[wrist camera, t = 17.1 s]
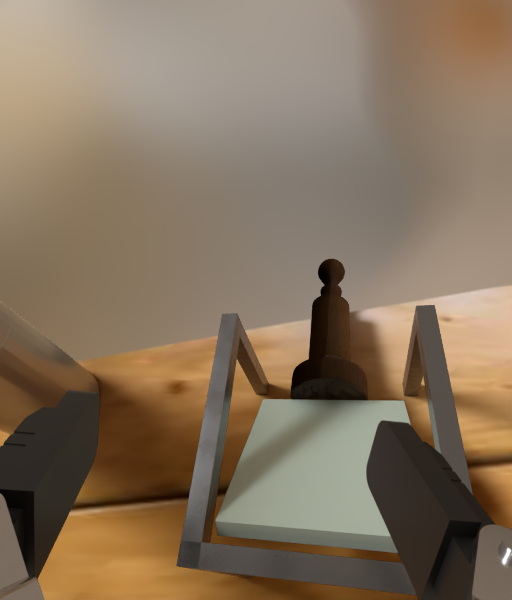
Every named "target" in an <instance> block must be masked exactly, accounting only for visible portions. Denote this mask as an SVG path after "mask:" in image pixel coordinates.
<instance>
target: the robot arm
mask: <svg viewBox="0 0 512 600" xmlns="http://www.w3.org/2000/svg"><path fill="white" fill-rule="evenodd" d="M99 403H100V397H99V385H98V382H97V380H96V378H95V377H94V376H93V375H92V374H91V373H90V372H89V371H87V370H86V369H85V368H84V367H82V366H81V365H80V364H79V363H78V362H76V361H75V360H74V359H73V358H72V357H70V356H69V355H68V354H67V353H65V352H64V351H63V350H62V349H60V348H59V347H58V346H57V345H55V344H54V343H53V342H52V341H51V340H49V339H48V338H47V337H46V336H45V335H43V334H42V333H41V332H40V331H38V330H37V329H36V328H34V327H33V326H32V325H31V324H30V323H28V322H27V321H26V320H24V319H23V318H22V317H21V316H20V315H19V314H17V313H16V312H15V311H14V310H12V309H11V308H10V307H9V306H7V305H6V304H5V303H4V302H2V301H1V300H0V430H1V431H3V432H5V433H7V434H9V435H10V436H9V438H8V439H7V440H6V441H5V442H4V445H3V446H1V447H0V600H44V597H43V594H42V591H41V588H40V585H39V582H38V580H37V579H38V577H39V575H40V573H41V571H42V569H43V566H44V564H45V562H46V560H47V558H48V556H49V554H50V552H51V550H52V548H53V546H54V544H55V541H56V539H57V537H58V535H59V533H60V531H61V529H62V527H63V525H64V523H65V521H66V519H67V516H68V514H69V512H70V510H71V508H72V506H73V504H74V502H75V500H76V498H77V496H78V494H79V491H80V489H81V487H82V485H83V483H84V481H85V479H86V477H87V475H88V473H89V471H90V469H91V466H92V464H93V461H94V458H95V455H96V450H97V444H98V426H99ZM366 478H367V483H368V487H369V489H370V491H371V494H372V496H373V498H374V500H375V502H376V505H377V507H378V509H379V511H380V514H381V516H382V518H383V520H384V523H385V525H386V527H387V529H388V531H389V534H390V536H391V538H392V540H393V543H394V545H395V547H396V549H397V551H398V554H399V556H400V558H401V560H402V563H403V565H404V567H405V569H406V572H407V574H408V576H409V578H410V580H411V583H412V585H413V587H414V589H415V592H416V594H417V596H418V598H419V600H512V529H510V528H507V527H504V526H500V525H495V523H494V522H493V521H492V519H491V518H490V517H489V516H488V514H487V513H486V512H485V510H484V509H483V508H482V506H481V505H480V504H479V503H478V501H477V500H476V499H475V497H474V496H473V495H472V493H471V492H470V491H469V489H468V488H467V487H466V486H465V484H464V483H462V482H461V481H462V480H461V479H460V478H459V476H458V475H457V474H456V473H455V471H453V470H452V467H451V466H450V465H449V463H448V462H447V461H446V459H445V458H444V457H443V456H442V454H440V453H439V452H438V451H437V450H435V449H434V448H433V447H432V446H430V445H429V444H428V443H426V442H423V441H422V440H421V439H420V437H419V436H418V435H417V433H416V432H415V430H414V429H413V428H412V426H411V425H410V424H409V423H405V422H395V421H385V420H382V421H381V422H380V423H379V424H378V427H377V430H376V433H375V437H374V441H373V444H372V448H371V451H370V455H369V458H368V462H367V467H366Z"/></svg>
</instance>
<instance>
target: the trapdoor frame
mask: <svg viewBox="0 0 512 600" xmlns="http://www.w3.org/2000/svg"><path fill="white" fill-rule="evenodd" d="M236 360H238V361H239V363H240V365H241V367H242V369H243V371H244V373H245V374H246V376H247V378H248V380H249V382H250V384H251V386H252V387H253V389H254V391H255V393H256V394H268V385H269V383H268V381H267V378H266V376H265V374H264V372H263V370H262V367H261V365H260V363H259V361H258V359H257V356H256V354H255V352H254V350H253V348H252V345H251V343H250V341H249V339H248V337H247V334H246V332H245V330H244V328H243V326H242V324H241V321H240V319H239V317H238V315H237V313H236V314H222V319H221V324H220V329H219V335H218V340H217V346H216V351H215V357H214V362H213V368H212V373H211V379H210V384H209V390H208V395H207V401H206V406H205V412H204V417H203V423H202V428H201V434H200V439H199V445H198V450H197V456H196V461H195V467H194V472H193V478H192V483H191V489H190V494H189V500H188V505H187V511H186V516H185V522H184V527H183V533H182V538H181V544H180V549H179V555H178V560H177V566H178V567H184V568H191V569H197V570H203V571H209V572H215V573H221V574H228V575H234V576H241V577H249V578H252V576H259V577H267V578H275V579H284V580H292V581H300V582H309V583H317V584H325V585H334V586H342V587H350V588H359V589H367V590H375V591H384V592H392V593H400V594H409V595H417V594H416V592H415V589H414V587H413V585H412V583H411V580H410V578H409V576H408V574H407V572H406V569H405V567H404V565H403V563H398V562H388V561H378V560H369V559H359V558H349V557H339V556H330V555H320V554H310V553H300V552H291V551H281V550H271V549H261V548H252V547H242V546H232V545H222V544H213V543H210V541H211V534H212V527H213V520H214V513H215V506H216V499H217V492H218V485H219V478H220V471H221V464H222V458H223V451H224V444H225V437H226V430H227V423H228V416H229V409H230V402H231V395H232V388H233V381H234V374H235V367H236ZM423 377H424V383H425V389H426V395H427V402H428V408H429V414H430V420H431V427H432V433H433V439H434V445H435V450H437V451H438V452H439V453H440V454H442V456H443V457H444V458H445V459H446V461H447V462H448V463H449V465H450V466H451V467H452V470H453V471H455V473H456V474H457V475H458V476H459V478H460V479H461V480H462V481H461V482H462V483H464V484H465V486H466V487H467V488H468V489H469V491H470V492H471V493H472V495H473V492H472V487H471V482H470V477H469V473H468V468H467V463H466V458H465V453H464V448H463V443H462V438H461V433H460V428H459V423H458V418H457V413H456V408H455V403H454V398H453V393H452V389H451V384H450V379H449V374H448V369H447V364H446V359H445V354H444V349H443V344H442V339H441V334H440V329H439V324H438V319H437V314H436V309H435V305H425V306H416V309H415V315H414V321H413V326H412V332H411V338H410V344H409V349H408V355H407V361H406V367H405V372H404V378H403V390H404V395H418V393H419V389H420V385H421V381H422V378H423Z"/></svg>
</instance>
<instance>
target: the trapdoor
mask: <svg viewBox="0 0 512 600" xmlns="http://www.w3.org/2000/svg"><path fill="white" fill-rule="evenodd" d="M382 420H385V421H395V422H405V423H409V424H410V421H409V417H408V413H407V410H406V406H405V403H404V401H385V400H295V399H263V402H262V404H261V407H260V409H259V412H258V414H257V417H256V420H255V422H254V425H253V427H252V430H251V432H250V435H249V437H248V440H247V442H246V445H245V447H244V450H243V452H242V455H241V457H240V460H239V462H238V465H237V467H236V470H235V473H234V475H233V478H232V480H231V483H230V485H229V488H228V490H227V493H226V495H225V498H224V500H223V503H222V505H221V508H220V510H219V513H218V515H217V518H216V520H215V523H216V529H217V535H218V536H228V537H238V538H249V539H259V540H269V541H279V542H290V543H300V544H310V545H321V546H331V547H341V548H351V549H362V550H372V551H382V552H393V553H398V551H397V549H396V547H395V545H394V543H393V540H392V538H391V536H390V534H389V531H388V529H387V527H386V525H385V523H384V520H383V518H382V516H381V514H380V511H379V509H378V507H377V505H376V502H375V500H374V498H373V496H372V494H371V491H370V489H369V487H368V483H367V478H366V467H367V462H368V458H369V455H370V451H371V448H372V444H373V441H374V437H375V433H376V430H377V427H378V424H379V423H380V422H381V421H382ZM410 425H411V424H410Z"/></svg>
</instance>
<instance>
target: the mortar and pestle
mask: <svg viewBox="0 0 512 600" xmlns="http://www.w3.org/2000/svg"><path fill="white" fill-rule="evenodd" d="M344 274H345V270H344V267H343V265H342V263H341V262H339V261H338V260H335V259H328V260H325V261H324V262H323V263H321V265H320V267H319V270H318V275H319V278H320V280H321V281H322V282H323V283H324V285H325V286H323V287H322V289H321V296H320V297H318V298H316V299H315V300H314V302H313V305H312V320H311V335H310V349H309V359H308V360H306V361H304V362H302V363H301V364H299V365H298V366H297V367H296V368H295V370H294V372H293V376H292V385H291V399H295V400H368V394H367V382H366V376H365V374H364V372H363V370H362V369H361V368H360V367H359V366H357V365H356V364H354V363H352V362H351V361H350V331H349V304H348V302H347V301H346V300H345V299H344V298H343V297H341V293H342V291H341V288H340V287H339V286H338V284H339V283H340V282H341V280H342V279H343V277H344Z"/></svg>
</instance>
